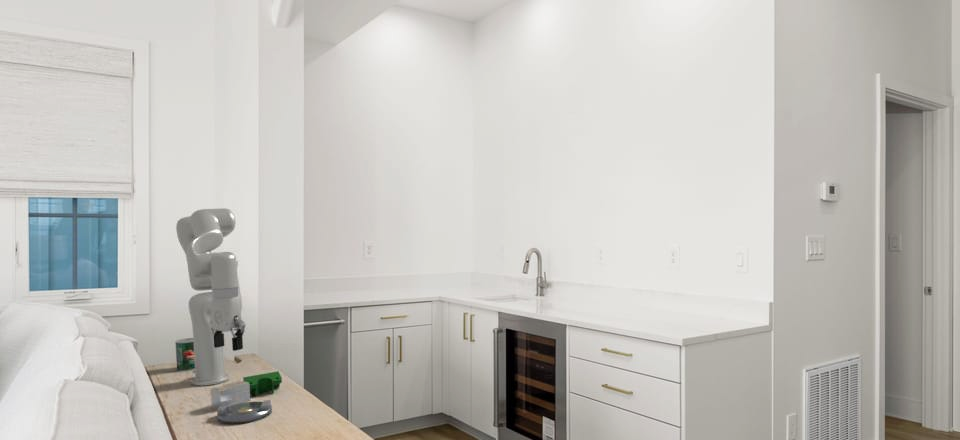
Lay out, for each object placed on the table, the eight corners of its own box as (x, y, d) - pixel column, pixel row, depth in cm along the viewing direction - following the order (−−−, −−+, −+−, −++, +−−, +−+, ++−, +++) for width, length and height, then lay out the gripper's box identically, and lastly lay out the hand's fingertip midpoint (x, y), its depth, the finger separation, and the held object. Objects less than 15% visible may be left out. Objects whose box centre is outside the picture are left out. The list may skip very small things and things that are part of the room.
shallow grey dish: (211, 426, 172) (211, 416, 172) (224, 409, 187) (223, 399, 187) (267, 421, 174) (266, 410, 174) (275, 404, 189) (274, 394, 189)
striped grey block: (211, 408, 189) (210, 388, 189) (241, 399, 197) (240, 380, 197) (220, 410, 186) (219, 391, 186) (250, 401, 194) (249, 382, 194)
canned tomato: (193, 370, 234) (191, 342, 234) (172, 371, 234) (171, 343, 234) (203, 365, 242) (201, 337, 242) (183, 366, 242) (181, 338, 242)
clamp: (253, 409, 199) (241, 388, 195) (249, 400, 204) (238, 380, 200) (288, 390, 203) (277, 369, 199) (283, 381, 208) (273, 361, 204)
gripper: (198, 294, 192) (201, 348, 192) (230, 296, 182) (234, 353, 183) (220, 290, 198) (223, 343, 199) (252, 293, 188) (256, 348, 189)
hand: (228, 348), depth 191 cm, fingers open, 9 cm apart
